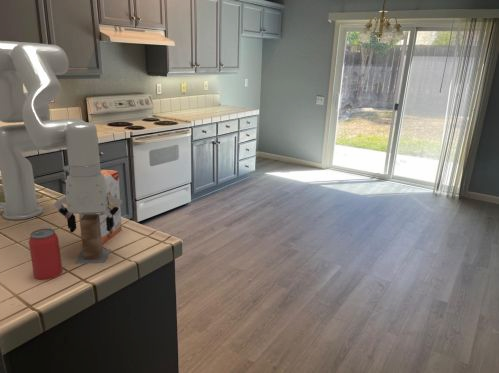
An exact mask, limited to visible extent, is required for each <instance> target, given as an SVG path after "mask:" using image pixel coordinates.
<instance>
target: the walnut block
mask: <svg viewBox="0 0 499 373" xmlns="http://www.w3.org/2000/svg"><path fill="white" fill-rule="evenodd" d="M80 225H81V229H80V235H81V234H82V240H81V245H82V244H83V246H82V251H83V253H84V260H95V259H100V257H101V255H102V253H103V251H102V249H103V245H102V240H101V229H100V218H99V214H84V215H83V217H82V218H81V219H79V226H80Z"/></svg>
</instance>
